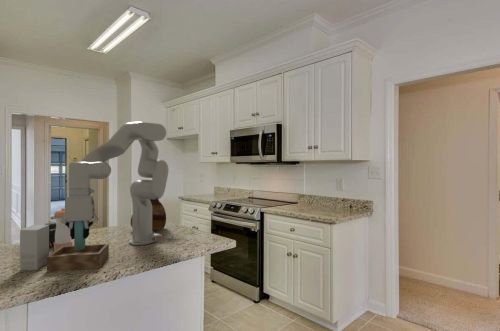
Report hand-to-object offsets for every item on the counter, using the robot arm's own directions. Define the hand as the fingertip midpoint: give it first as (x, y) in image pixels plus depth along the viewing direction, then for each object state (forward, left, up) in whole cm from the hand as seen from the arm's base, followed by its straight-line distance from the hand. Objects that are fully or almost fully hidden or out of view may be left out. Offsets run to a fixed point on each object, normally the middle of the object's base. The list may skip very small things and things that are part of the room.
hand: (79, 237), depth 118 cm
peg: (0, 0, -4) cm, 4 cm away
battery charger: (+21, -28, -11) cm, 37 cm away
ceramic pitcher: (-20, -54, -11) cm, 59 cm away
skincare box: (+16, 0, -11) cm, 19 cm away
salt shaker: (+14, -22, -11) cm, 28 cm away
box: (0, 0, -10) cm, 10 cm away
